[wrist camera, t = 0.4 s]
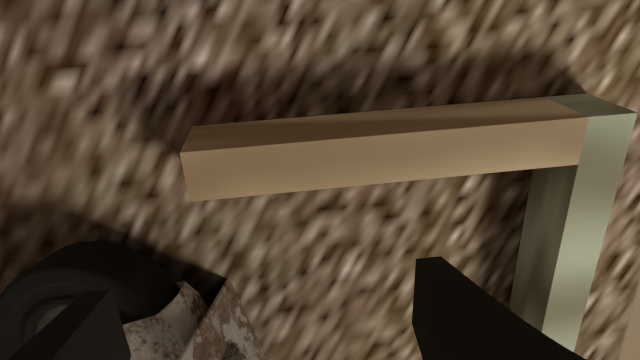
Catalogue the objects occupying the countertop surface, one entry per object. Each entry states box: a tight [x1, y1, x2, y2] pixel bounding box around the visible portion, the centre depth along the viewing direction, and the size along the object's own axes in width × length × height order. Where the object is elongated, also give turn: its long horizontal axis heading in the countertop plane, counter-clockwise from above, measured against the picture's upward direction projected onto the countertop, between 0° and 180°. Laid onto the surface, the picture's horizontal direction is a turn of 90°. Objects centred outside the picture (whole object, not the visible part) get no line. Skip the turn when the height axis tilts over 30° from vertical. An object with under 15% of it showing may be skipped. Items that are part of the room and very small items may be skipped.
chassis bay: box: [180, 93, 637, 352], centre depth 22 cm, size 20×18×3 cm
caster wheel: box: [0, 242, 267, 360], centre depth 20 cm, size 7×11×10 cm
